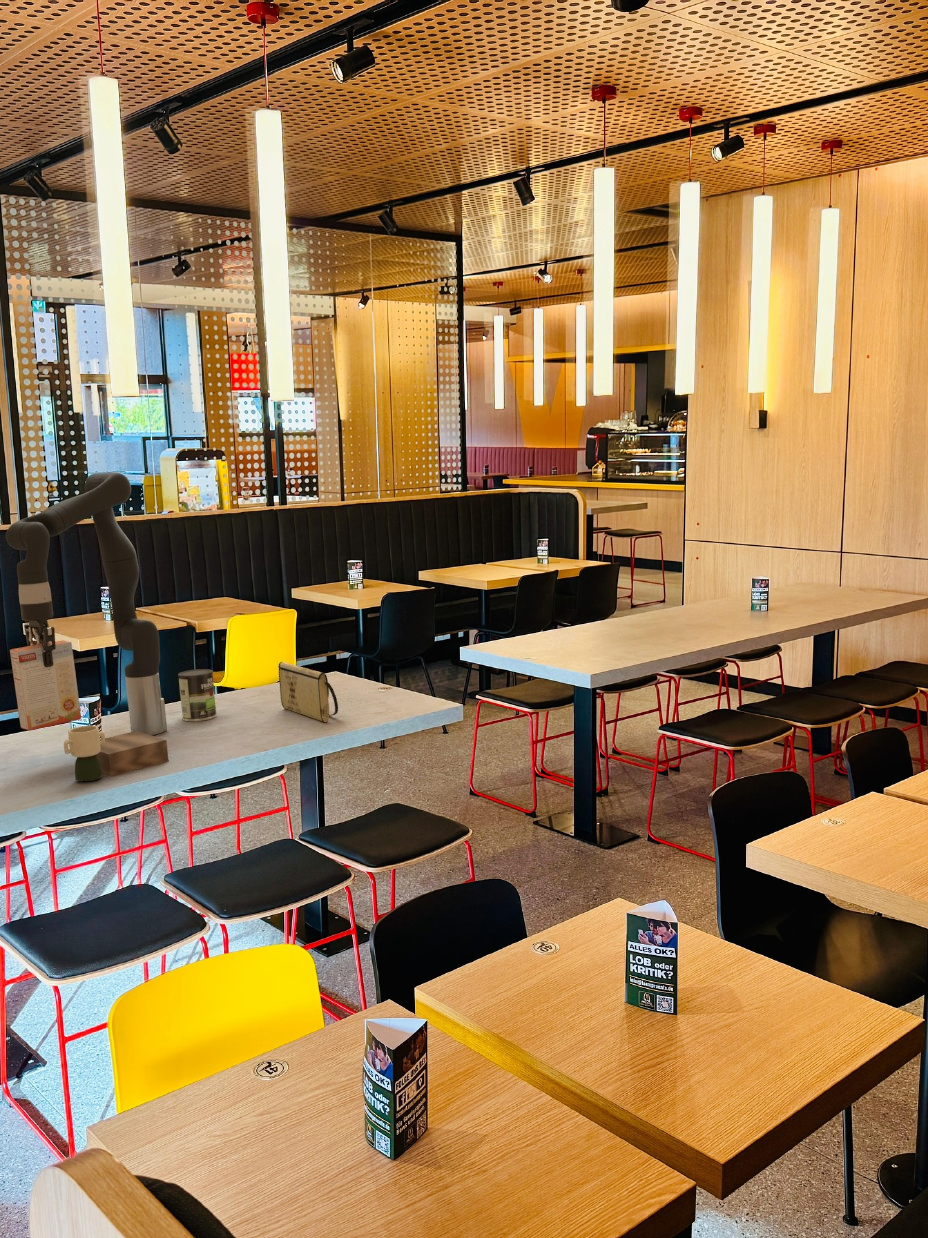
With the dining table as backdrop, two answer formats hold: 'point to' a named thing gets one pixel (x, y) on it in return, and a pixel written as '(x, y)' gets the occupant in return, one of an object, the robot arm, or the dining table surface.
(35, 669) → the cracker box
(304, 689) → the clutch purse
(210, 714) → the coffee can
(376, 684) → the dining table surface
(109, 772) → the walnut block
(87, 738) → the character mug
